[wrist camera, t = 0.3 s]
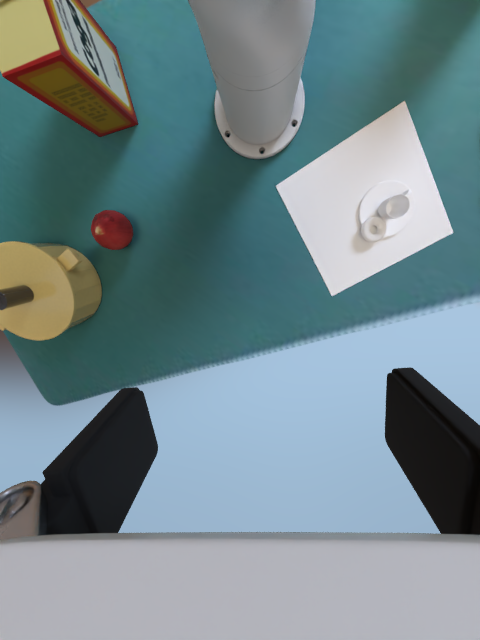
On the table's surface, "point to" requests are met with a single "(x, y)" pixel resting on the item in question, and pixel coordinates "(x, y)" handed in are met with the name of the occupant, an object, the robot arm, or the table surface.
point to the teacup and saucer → (367, 202)
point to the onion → (112, 230)
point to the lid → (34, 292)
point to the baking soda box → (65, 62)
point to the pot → (77, 279)
